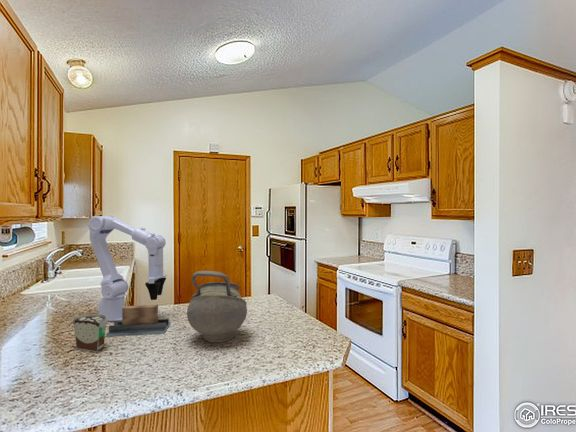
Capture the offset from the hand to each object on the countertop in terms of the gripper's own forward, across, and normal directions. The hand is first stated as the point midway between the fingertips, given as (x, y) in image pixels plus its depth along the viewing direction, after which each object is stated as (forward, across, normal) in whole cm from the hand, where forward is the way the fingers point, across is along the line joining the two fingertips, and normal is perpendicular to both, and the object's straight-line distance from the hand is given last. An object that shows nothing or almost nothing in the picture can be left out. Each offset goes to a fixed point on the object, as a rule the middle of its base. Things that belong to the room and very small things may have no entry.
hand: (156, 297), depth 136 cm
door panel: (+8, -12, +3) cm, 15 cm away
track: (+9, -12, +3) cm, 16 cm away
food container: (+10, -26, +13) cm, 31 cm away
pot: (+10, -25, -27) cm, 38 cm away
